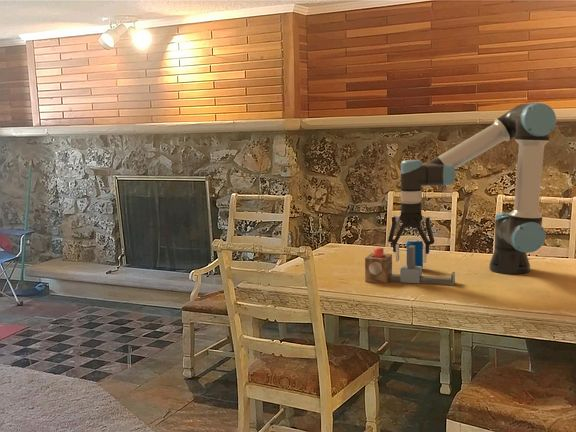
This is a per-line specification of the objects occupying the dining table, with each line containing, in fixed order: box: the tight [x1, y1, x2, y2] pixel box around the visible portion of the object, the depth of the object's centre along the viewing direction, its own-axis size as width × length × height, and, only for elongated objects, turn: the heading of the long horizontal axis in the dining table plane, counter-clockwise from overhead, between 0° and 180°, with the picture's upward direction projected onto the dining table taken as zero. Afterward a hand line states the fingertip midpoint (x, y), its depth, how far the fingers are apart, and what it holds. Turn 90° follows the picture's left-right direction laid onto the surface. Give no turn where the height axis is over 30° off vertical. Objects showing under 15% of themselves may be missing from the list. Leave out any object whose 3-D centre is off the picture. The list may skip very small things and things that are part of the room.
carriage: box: [399, 245, 423, 284], centre depth 230 cm, size 7×6×13 cm
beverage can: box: [406, 238, 424, 269], centre depth 249 cm, size 6×6×12 cm
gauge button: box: [373, 247, 384, 258], centre depth 234 cm, size 4×4×6 cm
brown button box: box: [364, 252, 393, 284], centre depth 235 cm, size 8×10×9 cm
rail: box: [388, 271, 456, 287], centre depth 229 cm, size 24×5×4 cm, turn 68°
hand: (411, 261), depth 230 cm, fingers open, 9 cm apart
